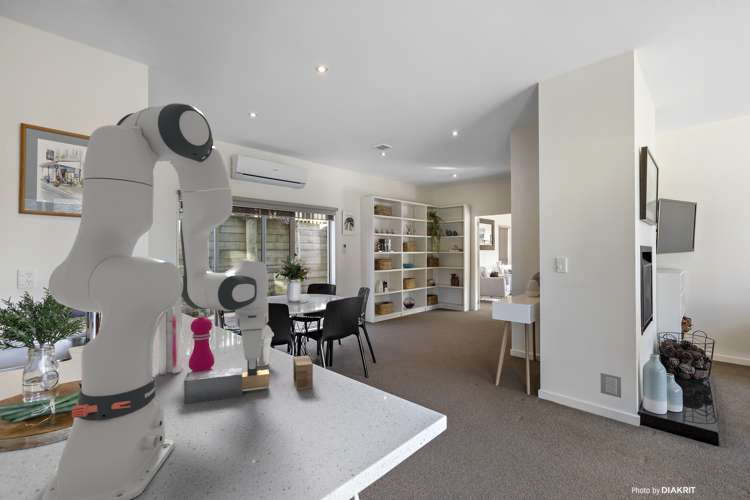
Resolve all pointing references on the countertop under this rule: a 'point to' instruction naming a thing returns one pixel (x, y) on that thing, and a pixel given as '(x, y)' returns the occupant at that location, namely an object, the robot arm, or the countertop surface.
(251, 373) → the gold post block
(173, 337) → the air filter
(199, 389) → the sleeve
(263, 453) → the countertop surface
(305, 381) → the socket block
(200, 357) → the pepper mill
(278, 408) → the countertop surface
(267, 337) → the cup with straw
